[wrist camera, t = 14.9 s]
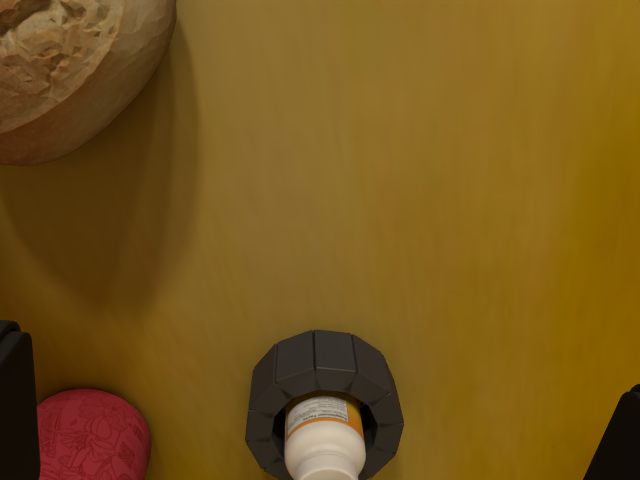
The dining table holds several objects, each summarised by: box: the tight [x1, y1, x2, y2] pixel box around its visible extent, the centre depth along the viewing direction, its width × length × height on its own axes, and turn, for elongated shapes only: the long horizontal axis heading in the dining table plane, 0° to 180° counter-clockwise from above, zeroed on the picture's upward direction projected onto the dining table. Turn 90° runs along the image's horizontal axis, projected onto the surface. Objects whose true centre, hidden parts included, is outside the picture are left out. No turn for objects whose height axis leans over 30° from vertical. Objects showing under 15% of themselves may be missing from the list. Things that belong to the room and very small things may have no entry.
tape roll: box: [245, 330, 404, 480], centre depth 42 cm, size 11×11×4 cm
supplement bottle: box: [284, 389, 366, 480], centre depth 39 cm, size 5×5×10 cm
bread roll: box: [0, 0, 176, 166], centre depth 29 cm, size 10×15×8 cm, turn 132°
